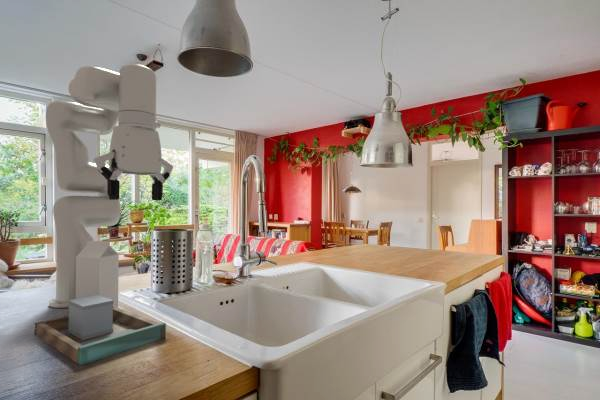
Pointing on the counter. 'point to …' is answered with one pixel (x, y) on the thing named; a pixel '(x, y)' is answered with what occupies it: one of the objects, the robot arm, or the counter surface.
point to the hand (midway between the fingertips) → (136, 199)
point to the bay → (105, 345)
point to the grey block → (90, 316)
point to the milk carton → (97, 271)
